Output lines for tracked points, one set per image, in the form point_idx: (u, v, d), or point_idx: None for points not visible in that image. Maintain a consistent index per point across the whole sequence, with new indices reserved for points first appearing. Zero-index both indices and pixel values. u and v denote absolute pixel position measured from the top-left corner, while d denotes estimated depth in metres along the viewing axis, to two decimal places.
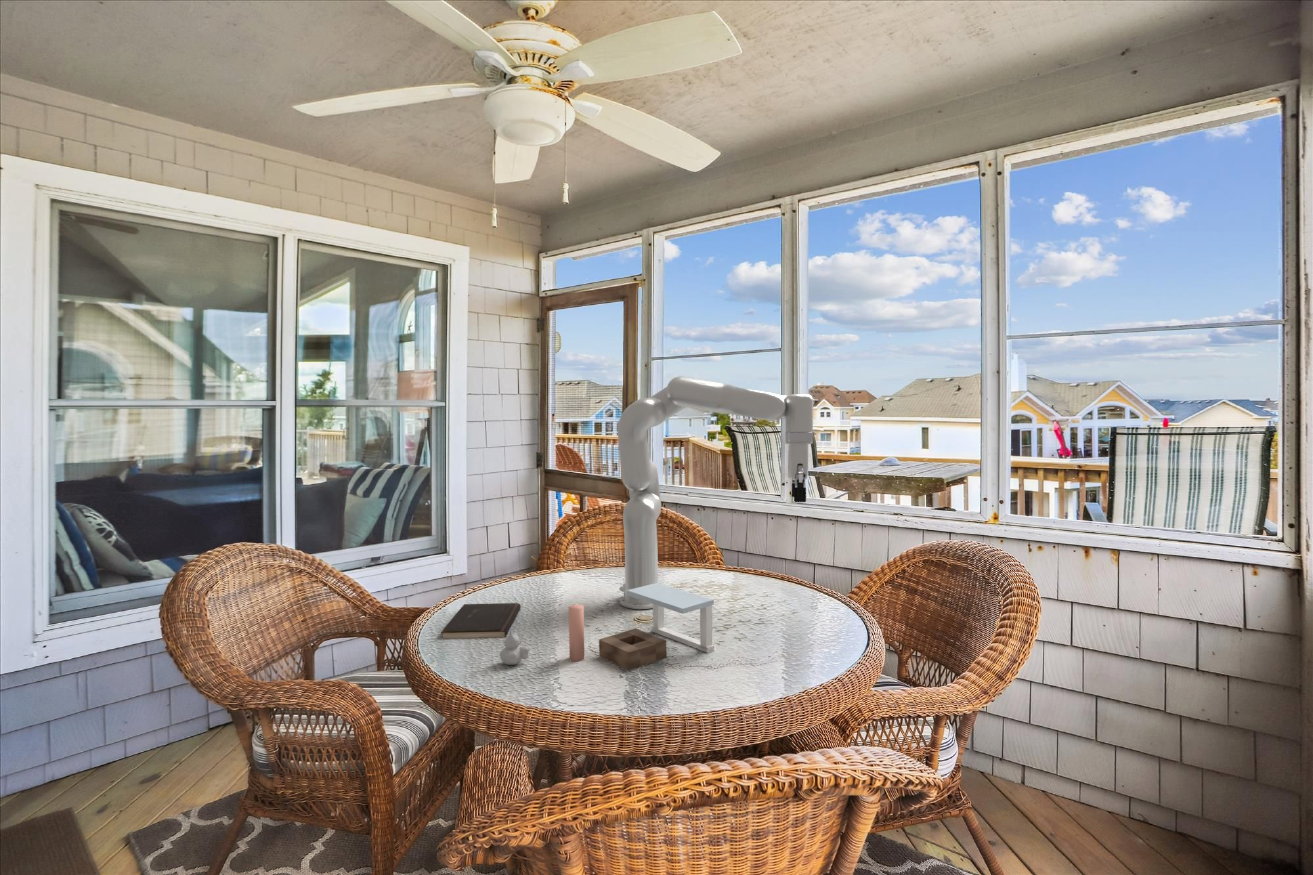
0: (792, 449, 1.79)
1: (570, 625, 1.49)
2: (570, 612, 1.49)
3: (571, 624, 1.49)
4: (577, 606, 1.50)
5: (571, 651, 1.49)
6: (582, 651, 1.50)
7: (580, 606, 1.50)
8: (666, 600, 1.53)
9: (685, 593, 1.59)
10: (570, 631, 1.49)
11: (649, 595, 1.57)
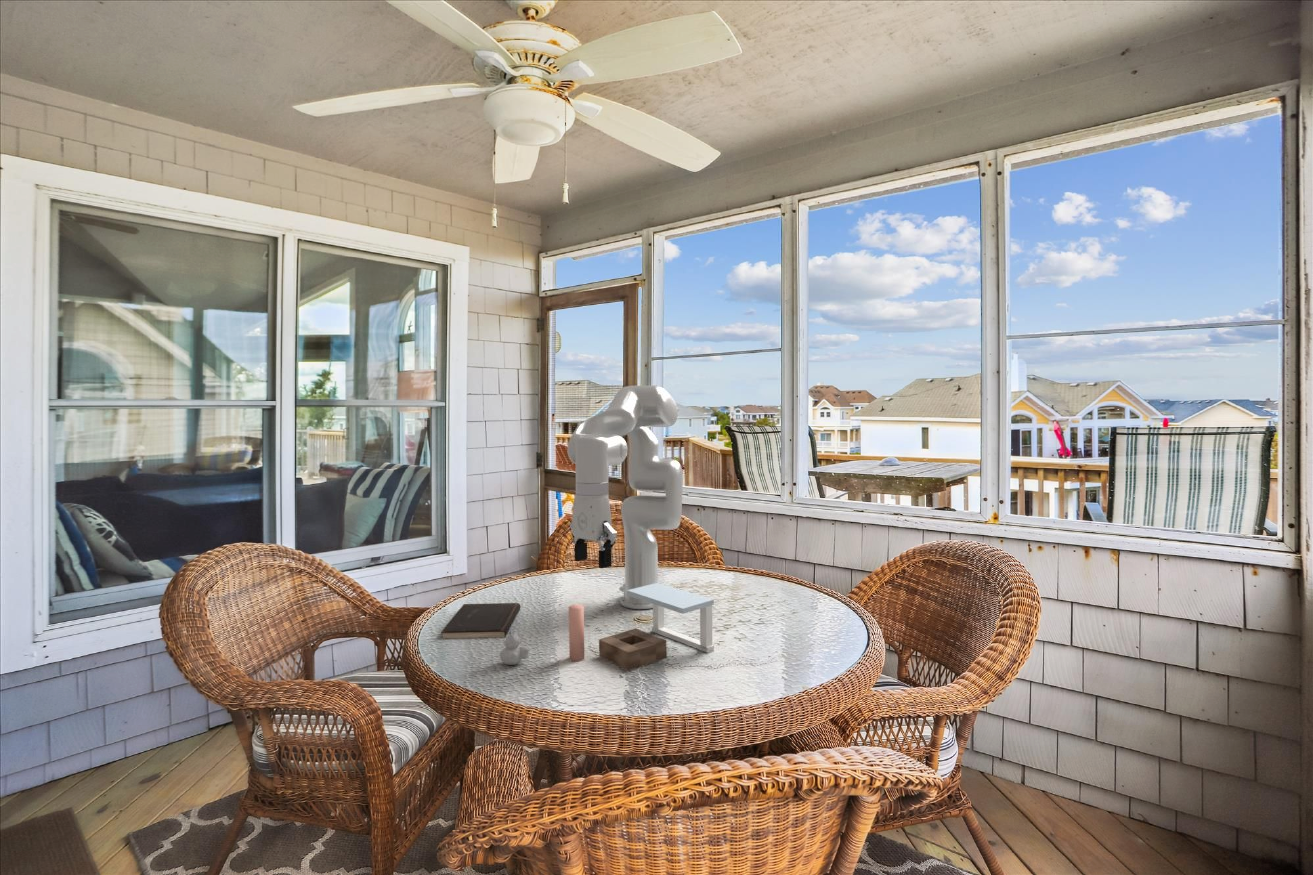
0: (596, 504, 1.46)
1: (570, 625, 1.49)
2: (570, 612, 1.49)
3: (571, 624, 1.49)
4: (577, 606, 1.50)
5: (571, 651, 1.49)
6: (582, 651, 1.50)
7: (580, 606, 1.50)
8: (666, 600, 1.53)
9: (685, 593, 1.59)
10: (570, 631, 1.49)
11: (649, 595, 1.57)
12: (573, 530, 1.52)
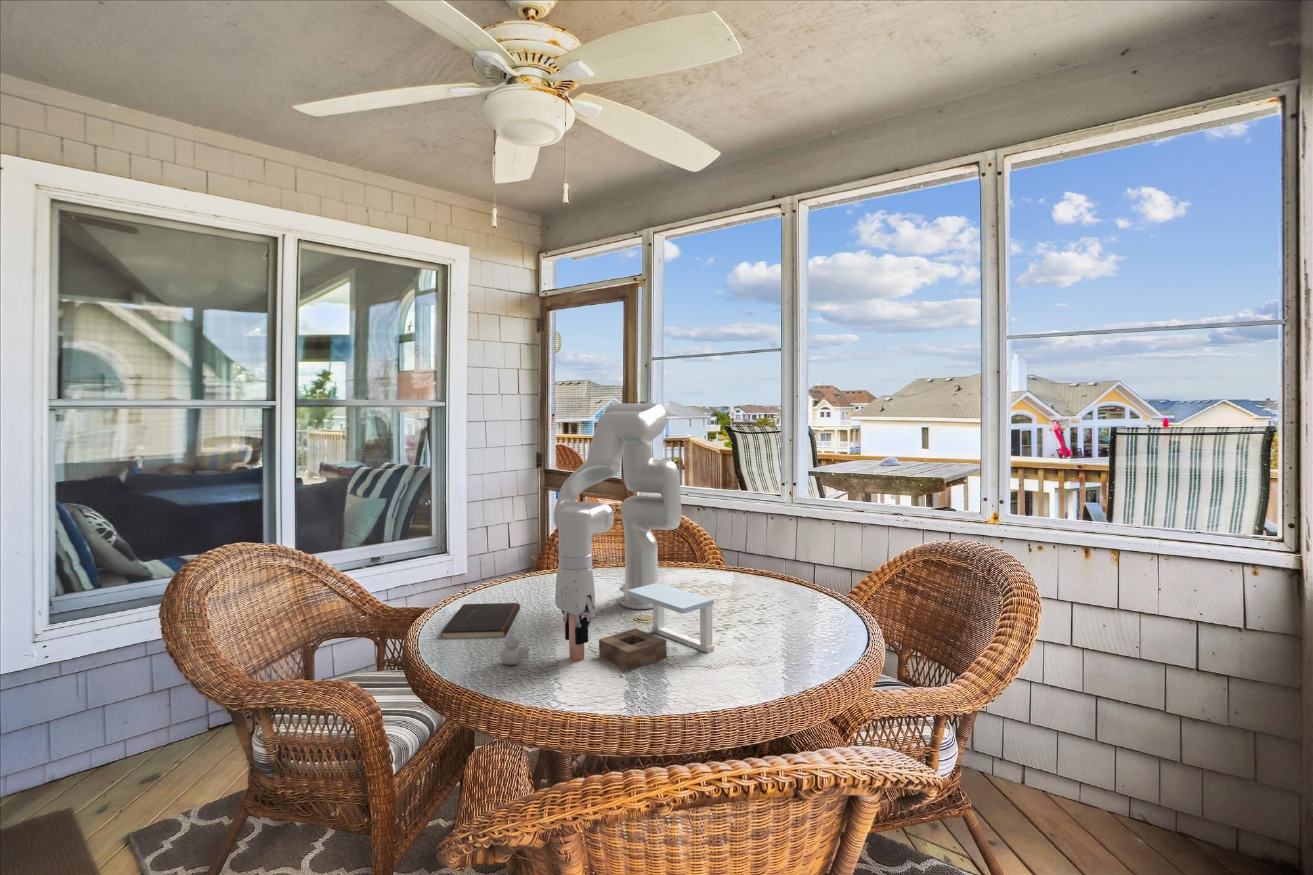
0: (579, 579, 1.45)
1: (570, 625, 1.49)
2: None
3: (571, 624, 1.49)
4: None
5: (571, 651, 1.49)
6: (582, 651, 1.50)
7: None
8: (666, 600, 1.53)
9: (685, 593, 1.59)
10: (570, 631, 1.49)
11: (649, 595, 1.57)
12: (556, 602, 1.51)
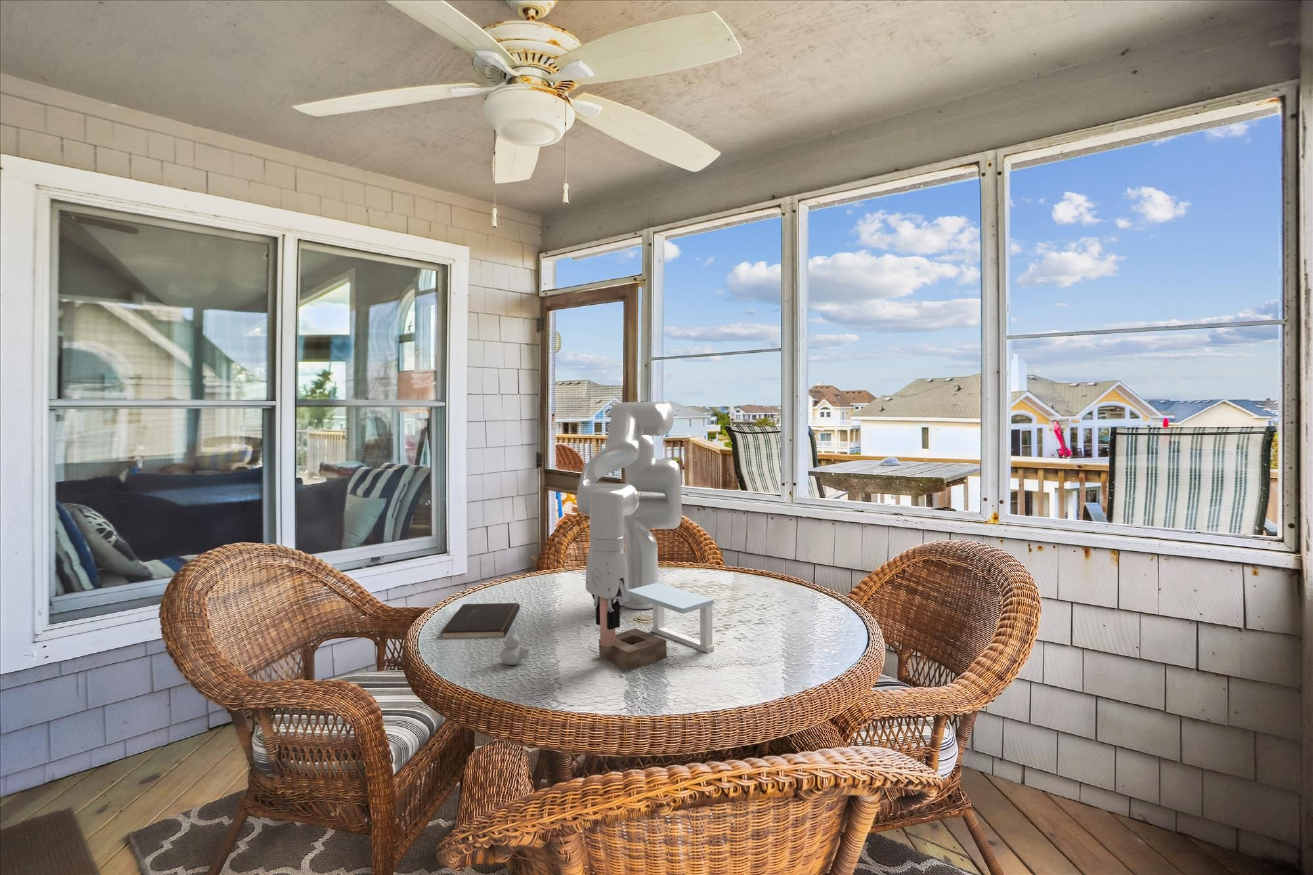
0: (611, 561, 1.41)
1: (601, 609, 1.45)
2: None
3: (602, 609, 1.45)
4: None
5: (602, 636, 1.45)
6: (614, 636, 1.45)
7: None
8: (666, 600, 1.53)
9: (685, 593, 1.59)
10: (601, 616, 1.45)
11: (649, 595, 1.57)
12: (587, 585, 1.47)
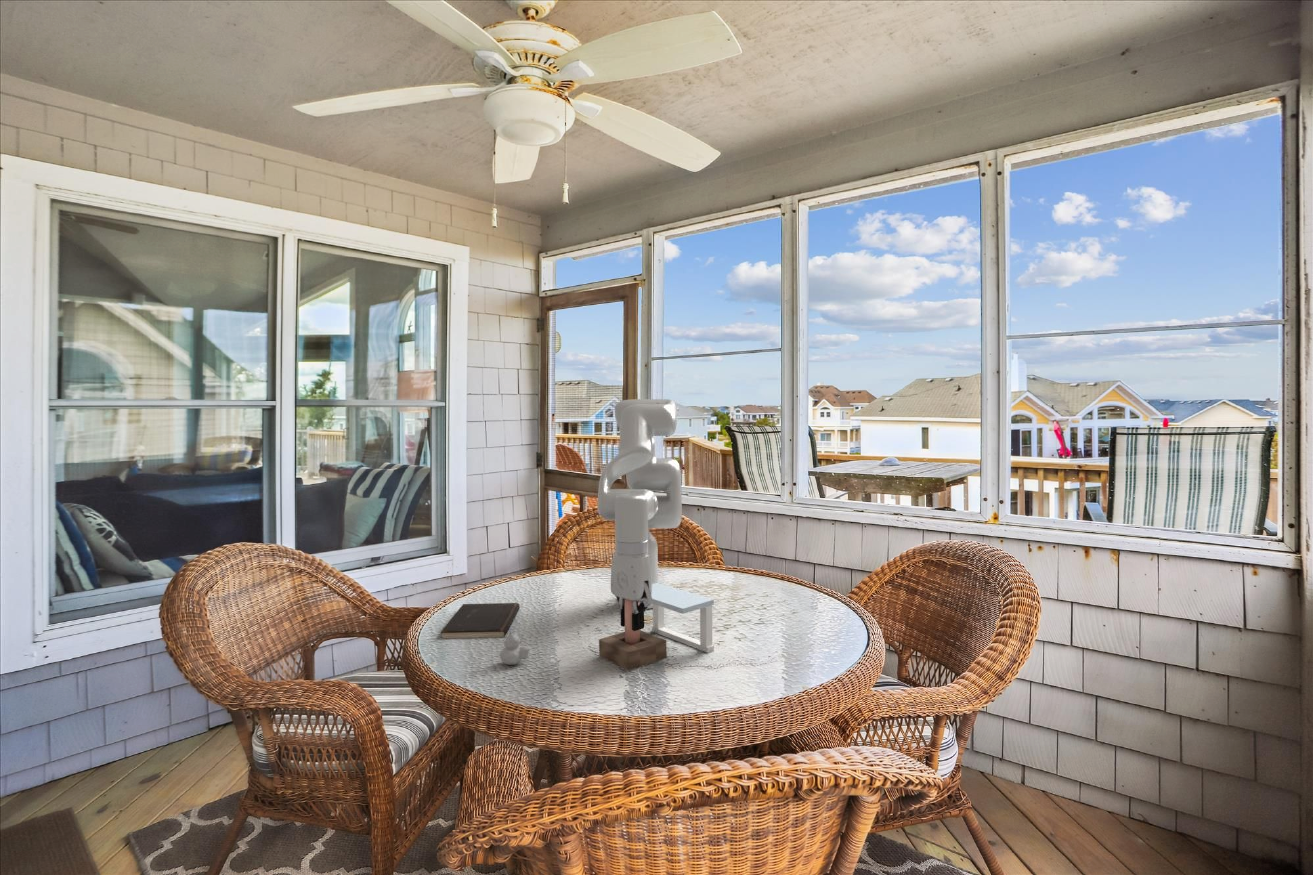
0: (637, 564, 1.45)
1: (626, 611, 1.49)
2: None
3: (627, 610, 1.49)
4: None
5: (627, 637, 1.49)
6: (638, 637, 1.50)
7: None
8: (666, 600, 1.53)
9: (685, 593, 1.59)
10: (626, 617, 1.49)
11: None
12: (612, 588, 1.51)
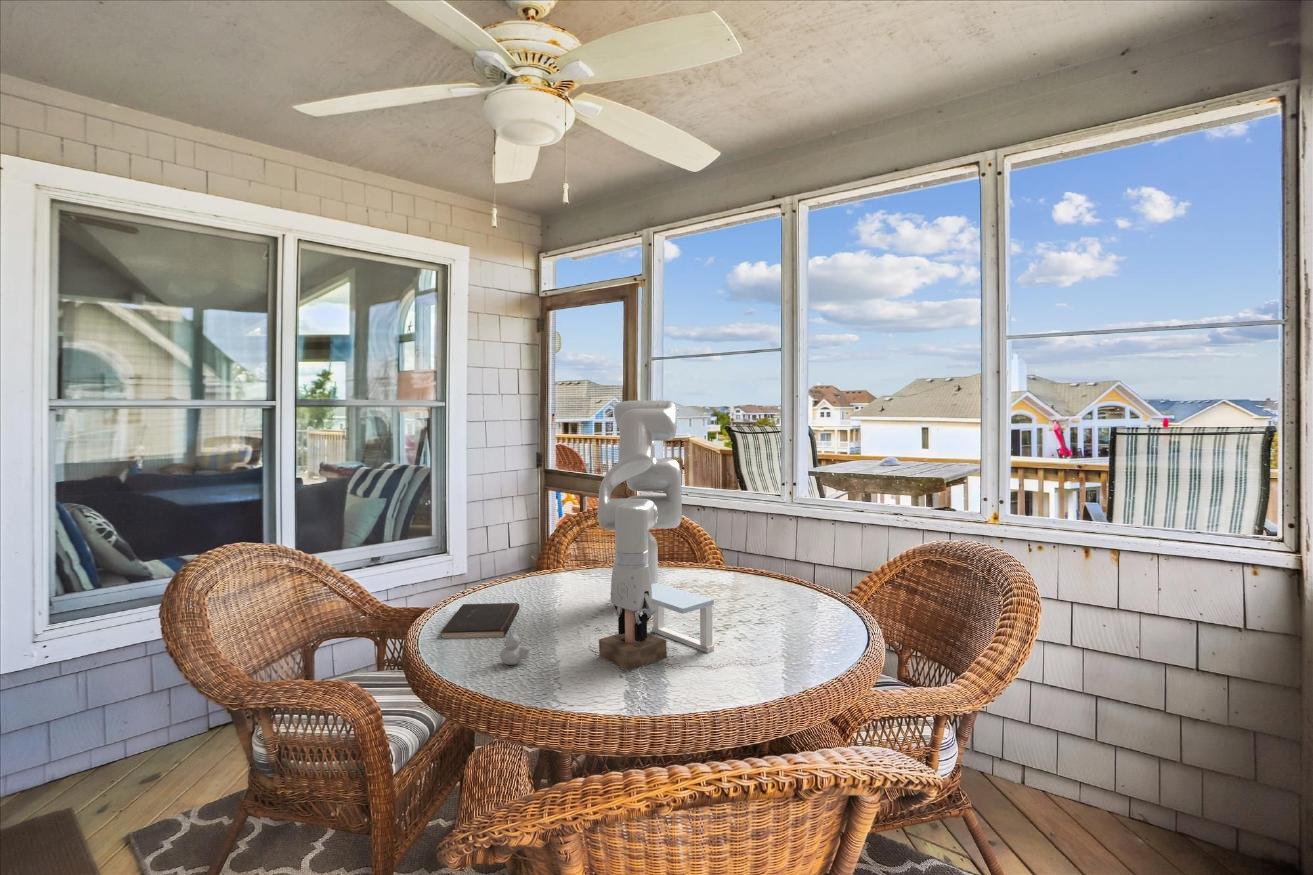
0: (637, 575, 1.46)
1: (626, 624, 1.50)
2: (626, 611, 1.49)
3: (627, 623, 1.49)
4: None
5: None
6: None
7: None
8: (666, 600, 1.53)
9: (685, 593, 1.59)
10: (626, 630, 1.50)
11: None
12: (612, 598, 1.52)
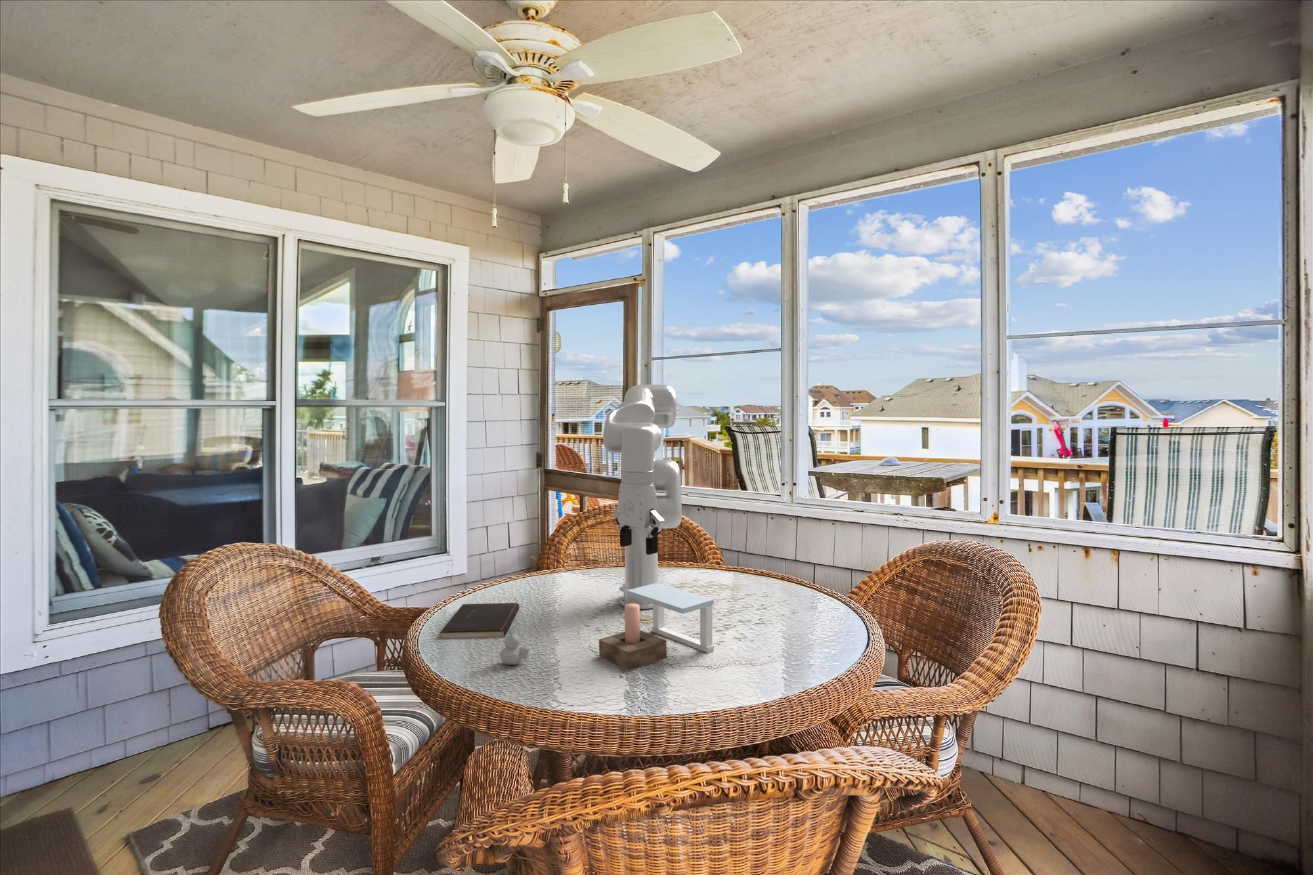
0: (643, 493, 1.50)
1: (626, 624, 1.50)
2: (626, 611, 1.49)
3: (627, 623, 1.49)
4: (633, 605, 1.51)
5: None
6: None
7: (636, 605, 1.51)
8: (666, 600, 1.53)
9: (685, 593, 1.59)
10: (626, 630, 1.50)
11: (649, 595, 1.57)
12: (619, 517, 1.56)
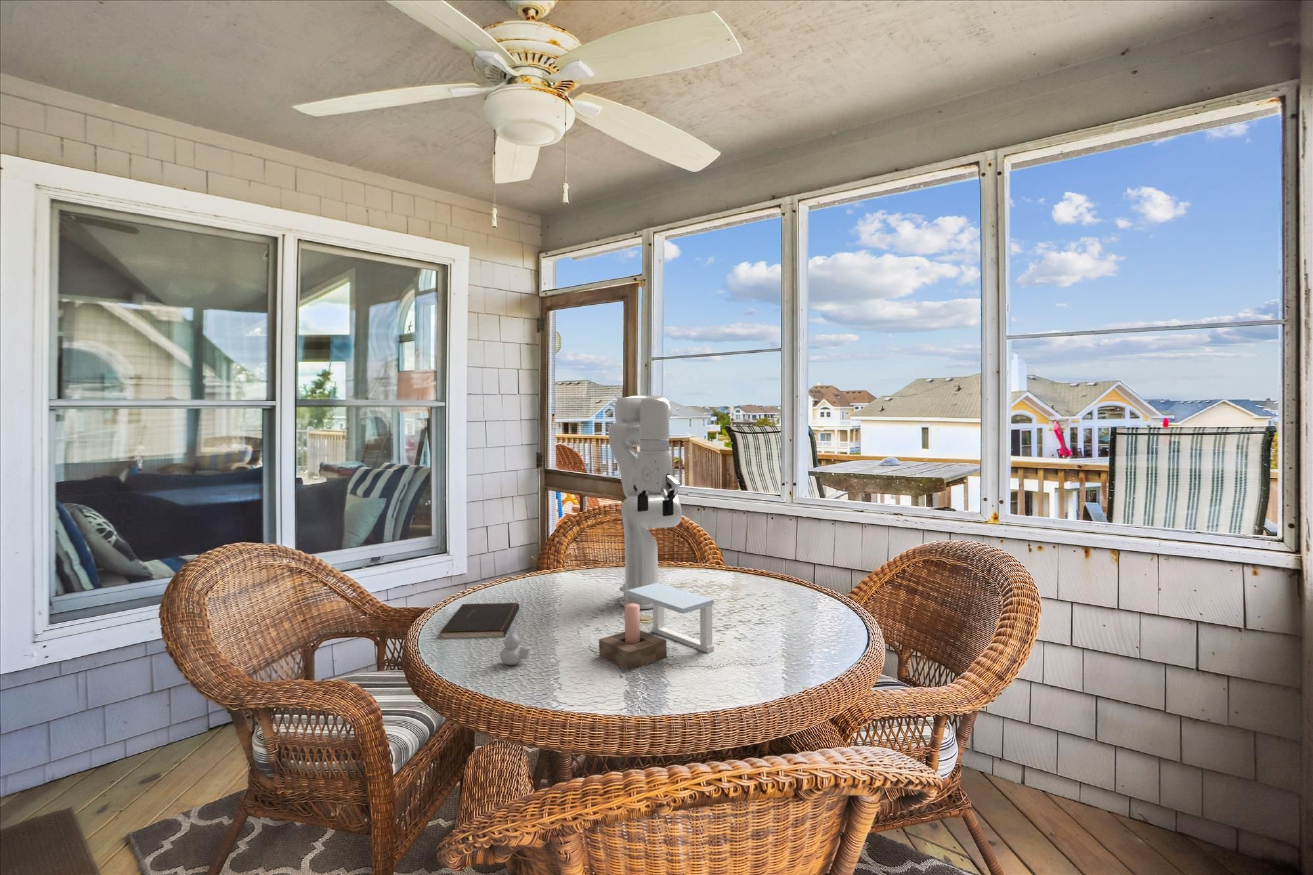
0: (660, 458, 1.62)
1: (626, 624, 1.50)
2: (626, 611, 1.49)
3: (627, 623, 1.49)
4: (633, 605, 1.51)
5: None
6: None
7: (636, 605, 1.51)
8: (666, 600, 1.53)
9: (685, 593, 1.59)
10: (626, 630, 1.50)
11: (649, 595, 1.57)
12: (637, 483, 1.68)
